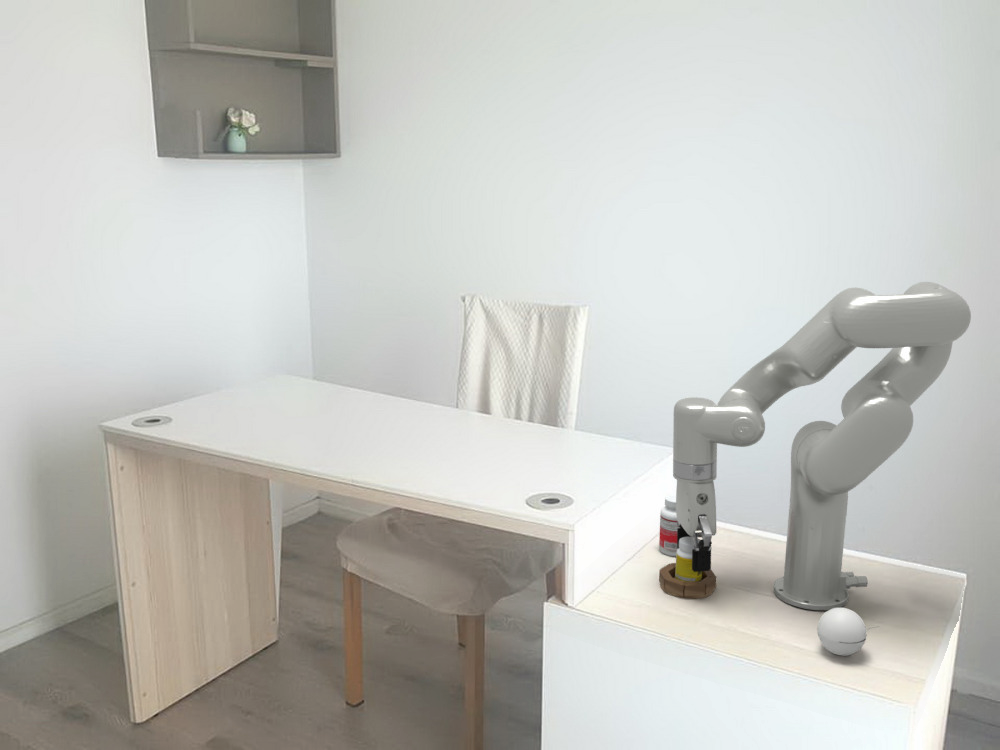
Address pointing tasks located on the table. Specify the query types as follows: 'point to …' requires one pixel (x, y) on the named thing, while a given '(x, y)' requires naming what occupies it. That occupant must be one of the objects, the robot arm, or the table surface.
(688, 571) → the supplement bottle
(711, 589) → the holder
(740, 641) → the table surface
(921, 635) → the table surface
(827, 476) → the robot arm
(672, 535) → the pill bottle
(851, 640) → the white sphere
